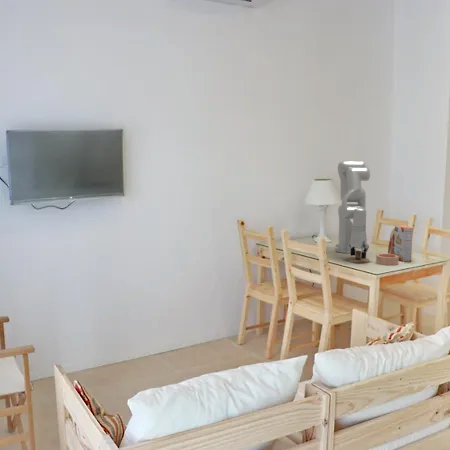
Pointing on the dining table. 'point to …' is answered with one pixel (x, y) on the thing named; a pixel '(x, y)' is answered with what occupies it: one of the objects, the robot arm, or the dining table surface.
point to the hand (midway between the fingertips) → (358, 256)
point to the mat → (358, 263)
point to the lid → (357, 258)
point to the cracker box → (403, 242)
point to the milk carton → (391, 242)
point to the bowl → (387, 259)
